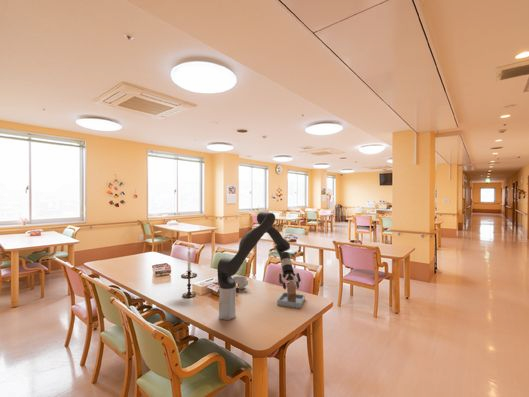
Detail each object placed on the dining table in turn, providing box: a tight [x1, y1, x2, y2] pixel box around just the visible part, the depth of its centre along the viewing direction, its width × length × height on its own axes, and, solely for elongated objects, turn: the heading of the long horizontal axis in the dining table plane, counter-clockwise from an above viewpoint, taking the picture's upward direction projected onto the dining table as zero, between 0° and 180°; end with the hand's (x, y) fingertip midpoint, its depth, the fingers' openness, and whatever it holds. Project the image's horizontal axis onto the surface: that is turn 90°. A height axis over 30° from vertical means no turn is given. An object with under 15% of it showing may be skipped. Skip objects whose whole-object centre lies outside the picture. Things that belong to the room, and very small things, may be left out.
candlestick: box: [180, 246, 198, 299], centre depth 184 cm, size 11×11×35 cm
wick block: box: [286, 280, 297, 302], centre depth 173 cm, size 4×4×13 cm
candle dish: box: [276, 291, 306, 309], centre depth 173 cm, size 15×15×3 cm
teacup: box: [232, 275, 249, 290], centre depth 198 cm, size 14×11×8 cm
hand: (291, 288), depth 173 cm, fingers open, 8 cm apart
